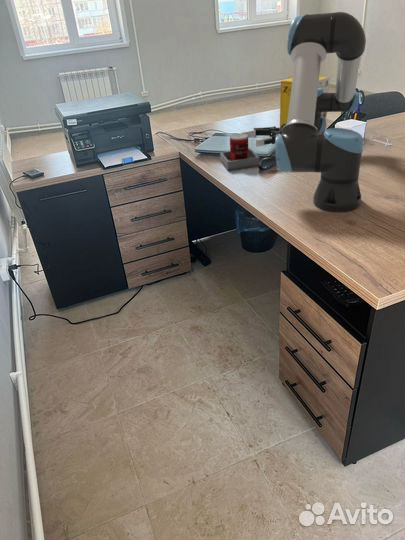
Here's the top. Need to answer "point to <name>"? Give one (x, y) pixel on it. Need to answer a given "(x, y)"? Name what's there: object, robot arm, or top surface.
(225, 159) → the charcoal bin
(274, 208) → the top surface
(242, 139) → the canned food
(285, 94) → the packaging box
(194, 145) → the top surface
